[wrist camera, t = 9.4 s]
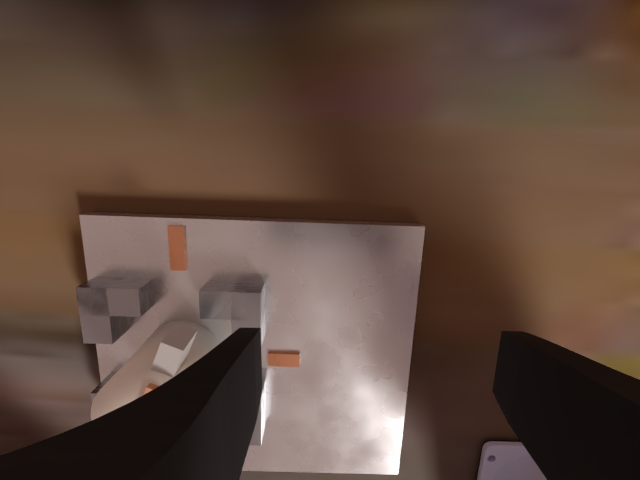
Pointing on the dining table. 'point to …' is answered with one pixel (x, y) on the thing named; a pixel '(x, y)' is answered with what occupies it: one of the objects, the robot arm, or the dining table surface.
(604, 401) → the robot arm
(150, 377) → the knob
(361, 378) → the hub plate
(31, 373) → the dining table surface
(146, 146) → the dining table surface
